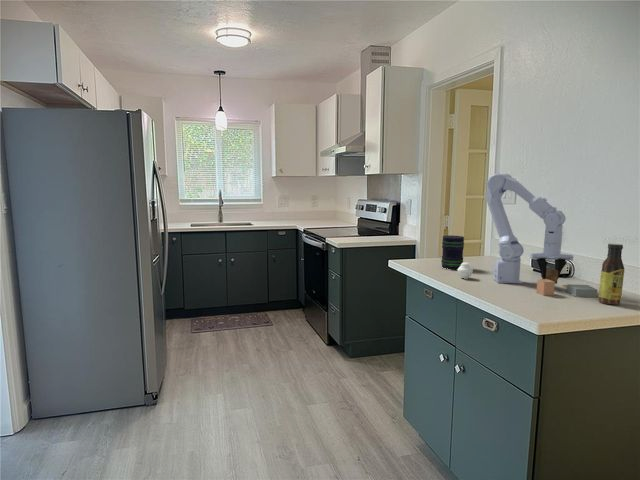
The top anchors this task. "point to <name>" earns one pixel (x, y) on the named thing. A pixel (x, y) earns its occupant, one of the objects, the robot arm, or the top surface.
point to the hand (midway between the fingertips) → (549, 278)
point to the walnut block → (551, 275)
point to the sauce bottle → (612, 276)
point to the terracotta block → (545, 287)
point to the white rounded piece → (465, 270)
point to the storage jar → (452, 251)
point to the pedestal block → (582, 290)
